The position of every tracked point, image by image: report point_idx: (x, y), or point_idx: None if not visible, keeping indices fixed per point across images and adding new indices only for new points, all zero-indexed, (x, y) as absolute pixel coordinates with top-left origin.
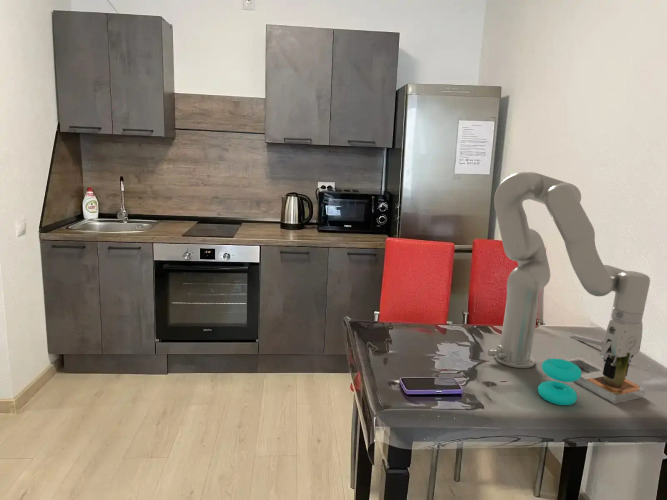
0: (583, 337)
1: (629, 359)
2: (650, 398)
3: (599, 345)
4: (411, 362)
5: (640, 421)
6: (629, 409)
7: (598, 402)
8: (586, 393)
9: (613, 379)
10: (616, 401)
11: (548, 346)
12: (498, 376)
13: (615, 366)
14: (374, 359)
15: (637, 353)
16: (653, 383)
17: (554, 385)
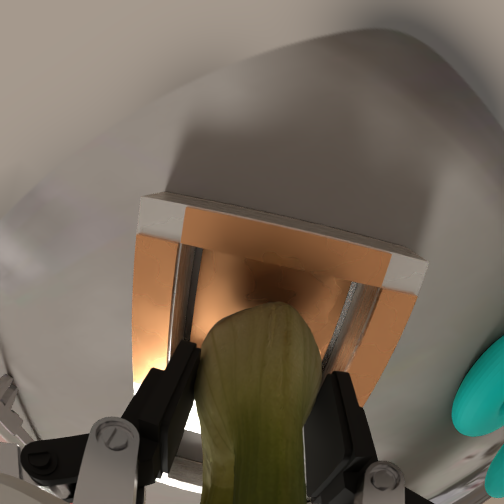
0: None
1: (114, 458)
2: (138, 164)
3: (23, 429)
4: (473, 497)
5: (455, 96)
6: (396, 169)
7: (445, 294)
8: (399, 363)
9: (321, 366)
10: (396, 246)
11: (148, 499)
12: (451, 472)
13: (368, 455)
14: (486, 497)
15: (12, 492)
16: (13, 241)
17: (500, 411)
